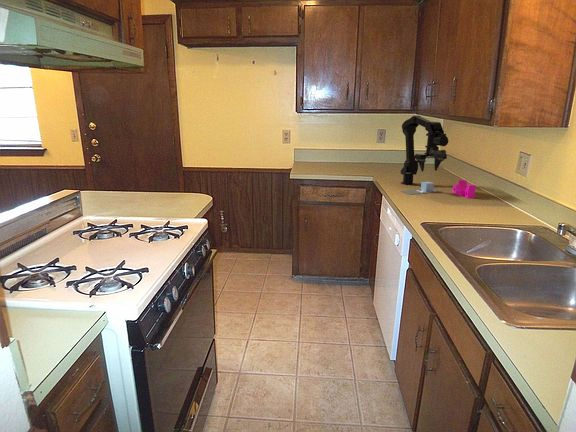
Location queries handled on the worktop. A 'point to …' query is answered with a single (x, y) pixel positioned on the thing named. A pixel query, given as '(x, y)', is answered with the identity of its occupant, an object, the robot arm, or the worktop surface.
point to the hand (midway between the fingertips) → (429, 171)
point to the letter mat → (419, 191)
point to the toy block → (464, 189)
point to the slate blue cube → (427, 186)
